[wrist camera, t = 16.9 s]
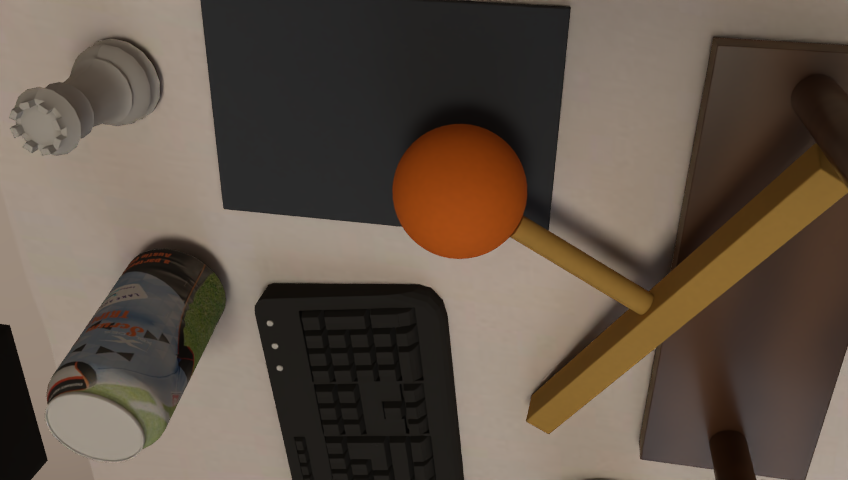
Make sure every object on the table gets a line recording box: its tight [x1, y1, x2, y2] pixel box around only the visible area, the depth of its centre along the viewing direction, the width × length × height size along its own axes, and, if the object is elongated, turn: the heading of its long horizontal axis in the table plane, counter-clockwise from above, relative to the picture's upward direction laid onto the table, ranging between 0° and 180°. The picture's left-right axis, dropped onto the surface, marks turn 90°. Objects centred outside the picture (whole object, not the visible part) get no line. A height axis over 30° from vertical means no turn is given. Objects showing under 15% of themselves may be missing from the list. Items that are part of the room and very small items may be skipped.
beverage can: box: [45, 249, 226, 463], centre depth 44 cm, size 6×7×12 cm
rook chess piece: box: [9, 39, 160, 155], centre depth 40 cm, size 4×4×8 cm
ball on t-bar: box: [392, 124, 848, 434], centre depth 39 cm, size 6×22×16 cm
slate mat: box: [201, 0, 571, 230], centre depth 41 cm, size 18×12×1 cm, turn 89°
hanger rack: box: [639, 37, 848, 480], centre depth 32 cm, size 9×24×22 cm, turn 179°
